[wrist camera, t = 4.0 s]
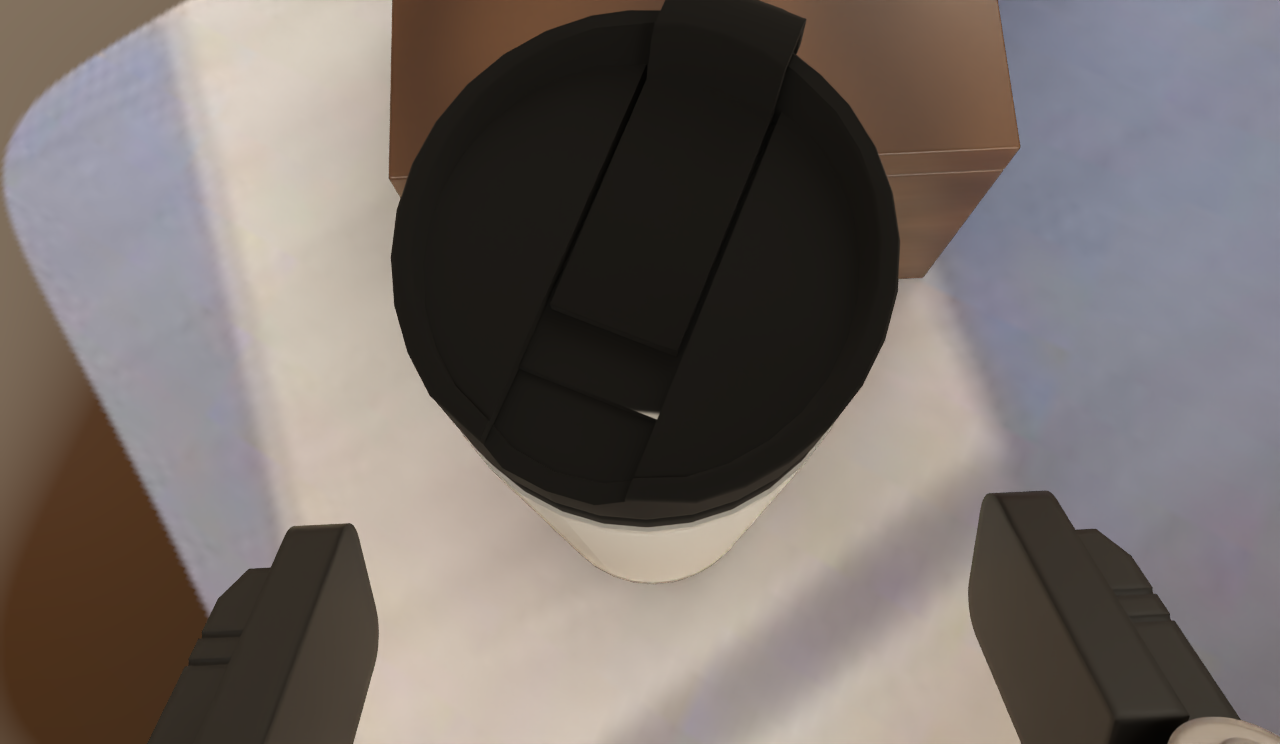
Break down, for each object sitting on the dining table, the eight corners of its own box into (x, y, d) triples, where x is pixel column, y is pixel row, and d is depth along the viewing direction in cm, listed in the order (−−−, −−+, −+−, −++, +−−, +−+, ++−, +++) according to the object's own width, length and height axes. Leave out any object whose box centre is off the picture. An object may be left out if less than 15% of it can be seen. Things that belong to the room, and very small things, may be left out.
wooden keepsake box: (883, -42, 35) (958, -263, 27) (923, 278, 32) (1021, 147, 24) (460, -21, 35) (396, -234, 27) (460, 300, 32) (388, 179, 24)
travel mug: (786, 415, 31) (995, 63, 12) (711, 616, 30) (807, 593, 10) (602, 344, 32) (513, -98, 12) (519, 537, 30) (271, 376, 11)
